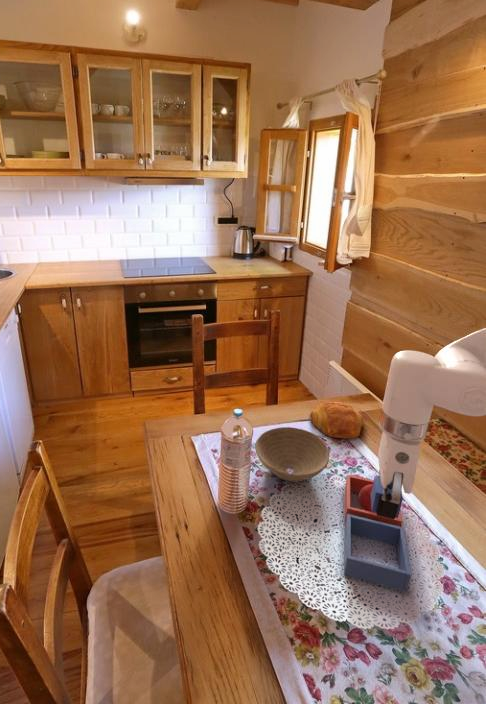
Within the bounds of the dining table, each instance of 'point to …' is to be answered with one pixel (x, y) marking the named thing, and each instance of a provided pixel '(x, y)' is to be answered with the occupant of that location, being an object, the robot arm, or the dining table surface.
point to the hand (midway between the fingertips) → (384, 504)
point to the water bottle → (235, 463)
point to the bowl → (292, 453)
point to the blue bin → (371, 569)
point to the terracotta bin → (355, 486)
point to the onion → (366, 498)
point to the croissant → (337, 419)
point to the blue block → (377, 492)
